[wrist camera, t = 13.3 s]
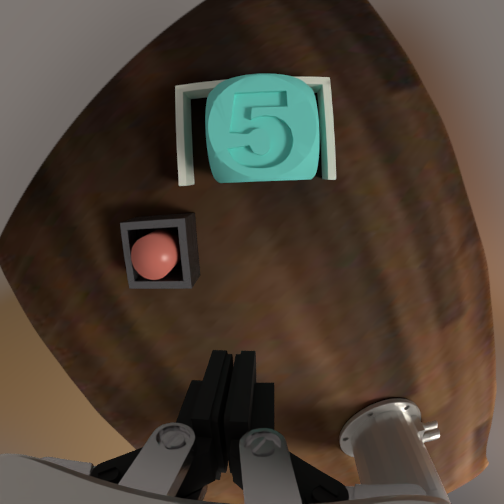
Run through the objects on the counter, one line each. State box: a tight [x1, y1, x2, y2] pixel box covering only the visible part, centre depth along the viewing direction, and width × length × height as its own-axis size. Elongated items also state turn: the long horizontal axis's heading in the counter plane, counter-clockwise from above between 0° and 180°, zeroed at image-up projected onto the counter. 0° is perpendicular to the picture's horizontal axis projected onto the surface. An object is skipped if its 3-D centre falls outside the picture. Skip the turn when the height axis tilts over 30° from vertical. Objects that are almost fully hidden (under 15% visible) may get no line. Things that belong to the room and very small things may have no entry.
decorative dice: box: [205, 74, 319, 183], centre depth 24 cm, size 8×8×8 cm
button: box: [131, 229, 181, 280], centre depth 28 cm, size 4×4×4 cm
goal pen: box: [175, 77, 336, 186], centre depth 26 cm, size 14×9×3 cm
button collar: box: [120, 213, 200, 288], centre depth 29 cm, size 6×6×4 cm
